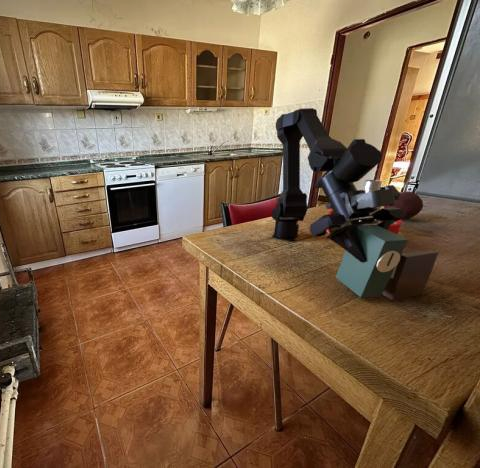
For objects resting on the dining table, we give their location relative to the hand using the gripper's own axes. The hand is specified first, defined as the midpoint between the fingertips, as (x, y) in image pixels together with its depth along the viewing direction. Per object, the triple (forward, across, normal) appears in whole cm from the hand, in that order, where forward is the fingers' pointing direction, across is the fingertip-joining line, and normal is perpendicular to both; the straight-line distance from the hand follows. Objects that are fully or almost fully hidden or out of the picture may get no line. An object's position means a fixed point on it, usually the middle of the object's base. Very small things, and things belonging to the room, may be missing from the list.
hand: (375, 259), depth 51 cm
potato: (-20, +58, +33) cm, 70 cm away
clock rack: (+4, +8, +8) cm, 12 cm away
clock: (+4, 0, +6) cm, 8 cm away
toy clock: (-15, +31, +28) cm, 44 cm away
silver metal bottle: (-8, +20, +21) cm, 30 cm away
